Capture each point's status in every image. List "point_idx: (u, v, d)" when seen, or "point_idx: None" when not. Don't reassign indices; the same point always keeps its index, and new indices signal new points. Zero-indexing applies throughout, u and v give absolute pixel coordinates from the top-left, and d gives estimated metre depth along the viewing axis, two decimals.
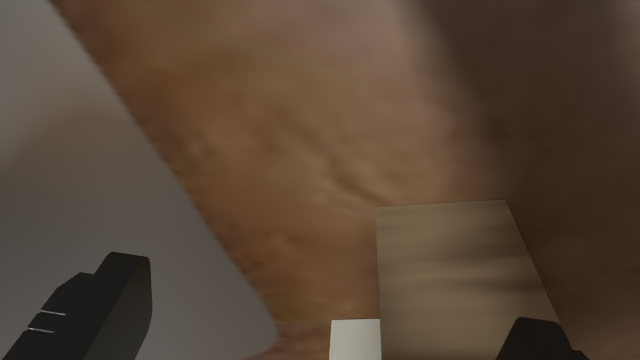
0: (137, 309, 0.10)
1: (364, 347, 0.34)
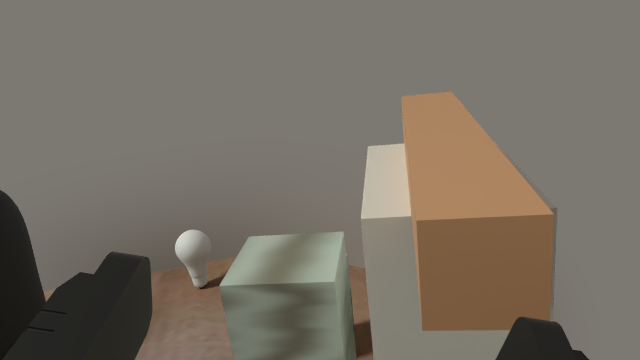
0: (137, 309, 0.10)
1: None
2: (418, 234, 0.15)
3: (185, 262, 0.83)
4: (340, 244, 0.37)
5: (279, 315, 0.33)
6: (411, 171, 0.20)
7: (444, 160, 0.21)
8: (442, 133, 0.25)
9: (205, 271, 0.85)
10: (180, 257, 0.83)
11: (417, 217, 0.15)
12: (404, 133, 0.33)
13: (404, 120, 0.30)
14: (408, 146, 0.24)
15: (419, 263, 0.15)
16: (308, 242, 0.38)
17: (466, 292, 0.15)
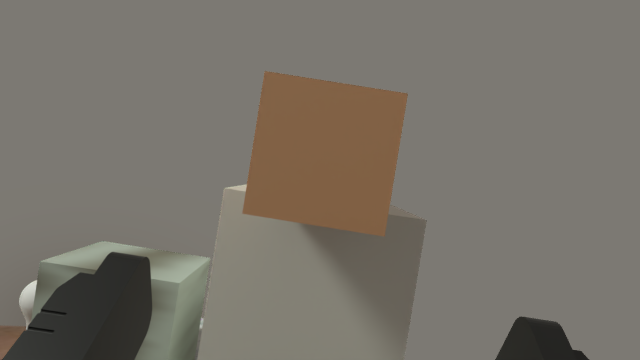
0: (137, 309, 0.10)
1: None
2: (263, 88, 0.13)
3: (26, 314, 0.70)
4: (201, 264, 0.33)
5: None
6: None
7: None
8: None
9: None
10: (22, 306, 0.70)
11: None
12: None
13: None
14: None
15: (257, 126, 0.13)
16: (167, 256, 0.34)
17: (301, 170, 0.13)
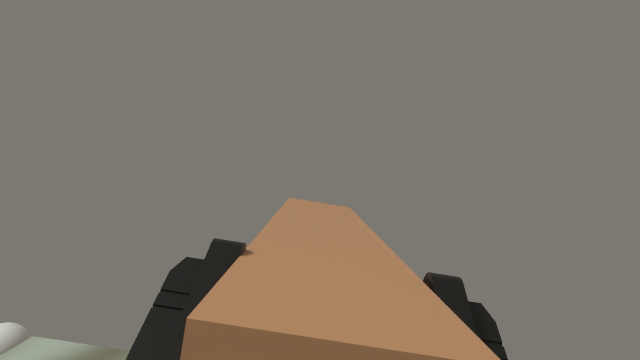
0: None
1: None
2: (184, 356, 0.06)
3: None
4: None
5: None
6: (247, 249, 0.11)
7: (310, 250, 0.12)
8: (322, 228, 0.17)
9: None
10: None
11: (195, 312, 0.06)
12: None
13: (279, 210, 0.22)
14: (265, 228, 0.15)
15: None
16: None
17: None
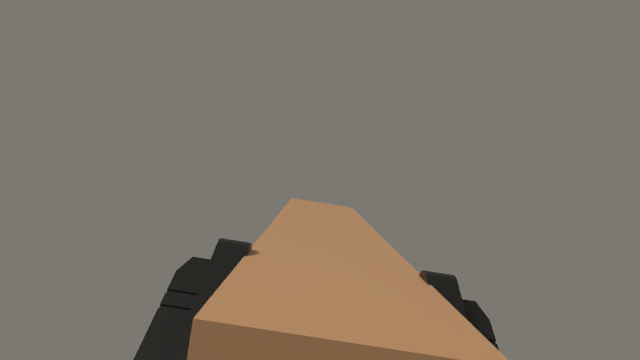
0: None
1: None
2: (191, 357, 0.06)
3: None
4: None
5: None
6: None
7: (314, 250, 0.12)
8: (325, 228, 0.17)
9: None
10: None
11: (201, 313, 0.06)
12: None
13: None
14: (269, 228, 0.15)
15: None
16: None
17: None
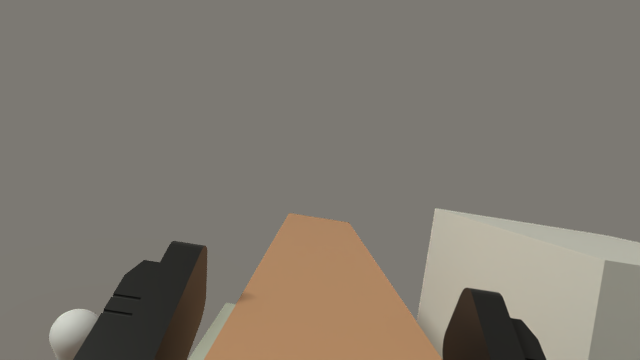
0: (197, 295, 0.10)
1: None
2: None
3: (58, 353, 0.58)
4: None
5: None
6: (244, 293, 0.11)
7: (307, 290, 0.12)
8: (320, 256, 0.17)
9: None
10: (53, 344, 0.58)
11: None
12: None
13: (278, 232, 0.22)
14: (263, 259, 0.15)
15: None
16: None
17: None
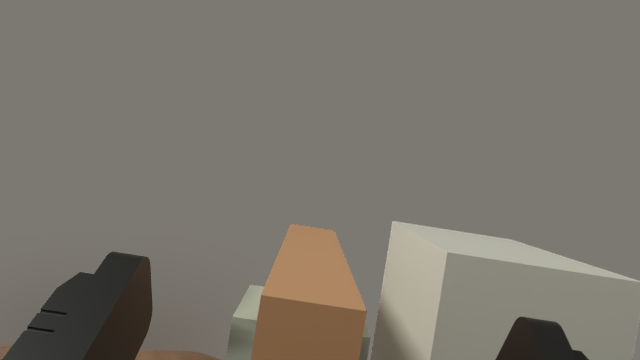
0: (137, 309, 0.10)
1: None
2: (260, 307, 0.18)
3: None
4: None
5: None
6: (273, 268, 0.23)
7: (303, 268, 0.24)
8: (311, 252, 0.29)
9: None
10: None
11: (262, 293, 0.18)
12: None
13: None
14: (279, 254, 0.27)
15: (255, 334, 0.18)
16: None
17: None
